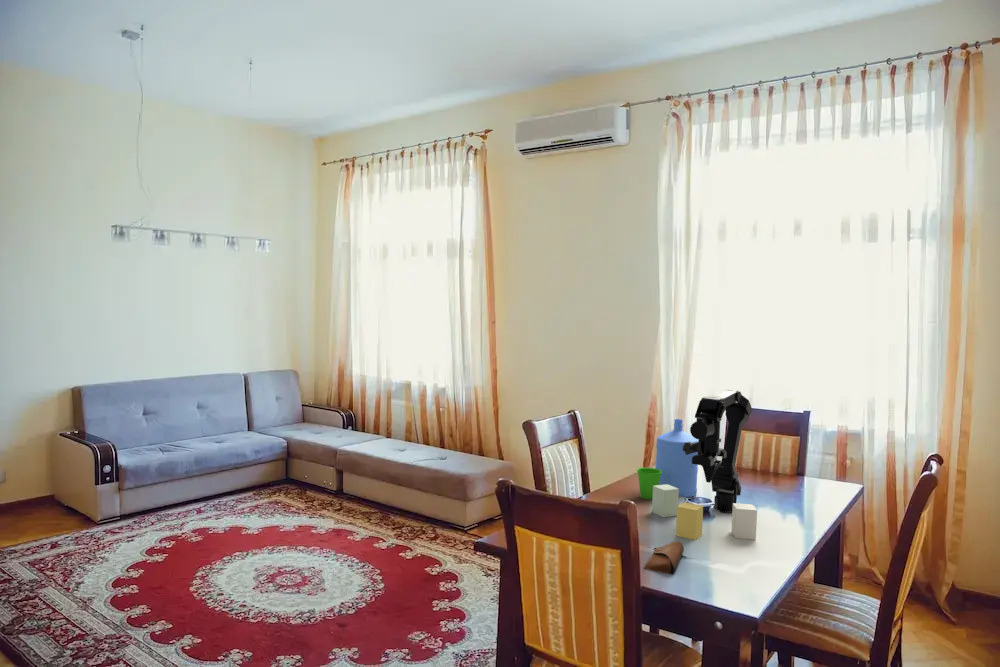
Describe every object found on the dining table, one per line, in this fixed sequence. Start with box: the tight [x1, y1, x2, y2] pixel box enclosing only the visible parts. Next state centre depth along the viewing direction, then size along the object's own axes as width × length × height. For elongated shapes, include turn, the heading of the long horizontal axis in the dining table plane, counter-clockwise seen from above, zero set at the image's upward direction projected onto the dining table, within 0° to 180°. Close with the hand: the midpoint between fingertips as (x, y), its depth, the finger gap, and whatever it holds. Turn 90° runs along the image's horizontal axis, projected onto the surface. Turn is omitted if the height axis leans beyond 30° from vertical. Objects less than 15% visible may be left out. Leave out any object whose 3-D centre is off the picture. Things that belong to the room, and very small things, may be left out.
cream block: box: [731, 502, 758, 541], centre depth 210 cm, size 6×6×9 cm
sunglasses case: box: [643, 540, 685, 575], centre depth 190 cm, size 18×7×7 cm
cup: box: [636, 467, 662, 500], centre depth 250 cm, size 9×9×11 cm
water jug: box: [654, 418, 699, 498], centre depth 261 cm, size 16×16×28 cm
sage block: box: [651, 484, 680, 518], centre depth 230 cm, size 6×6×9 cm
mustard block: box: [675, 501, 704, 541], centre depth 209 cm, size 6×6×9 cm
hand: (708, 482), depth 227 cm, fingers closed
